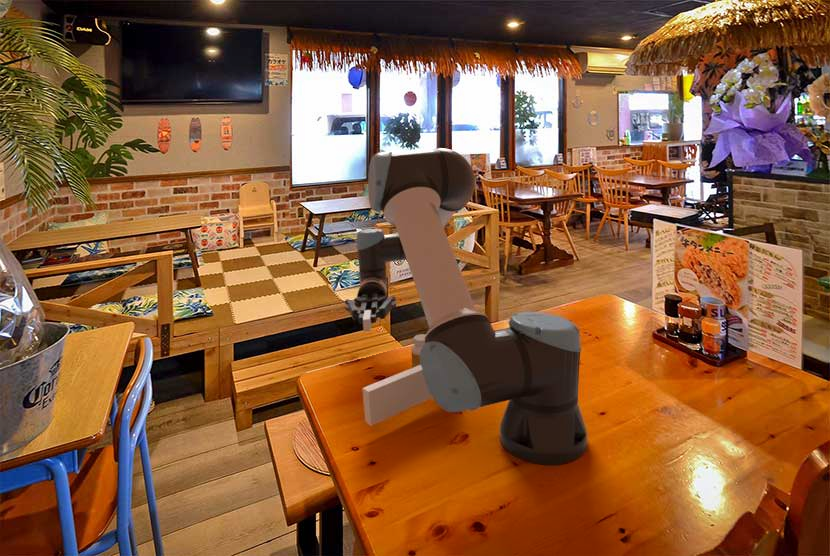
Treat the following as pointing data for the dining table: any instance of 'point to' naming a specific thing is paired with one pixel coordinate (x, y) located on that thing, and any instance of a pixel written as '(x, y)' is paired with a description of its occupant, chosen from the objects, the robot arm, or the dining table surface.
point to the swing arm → (394, 395)
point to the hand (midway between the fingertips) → (366, 325)
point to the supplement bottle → (417, 349)
